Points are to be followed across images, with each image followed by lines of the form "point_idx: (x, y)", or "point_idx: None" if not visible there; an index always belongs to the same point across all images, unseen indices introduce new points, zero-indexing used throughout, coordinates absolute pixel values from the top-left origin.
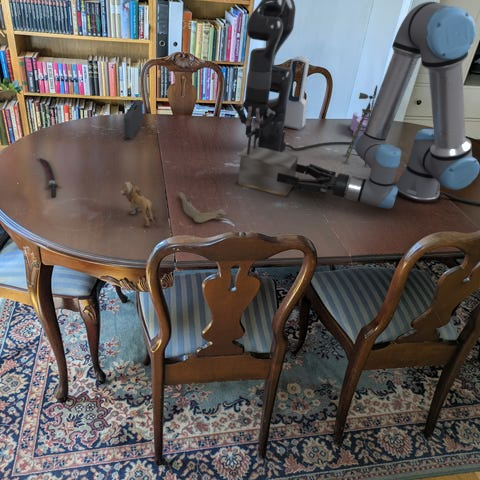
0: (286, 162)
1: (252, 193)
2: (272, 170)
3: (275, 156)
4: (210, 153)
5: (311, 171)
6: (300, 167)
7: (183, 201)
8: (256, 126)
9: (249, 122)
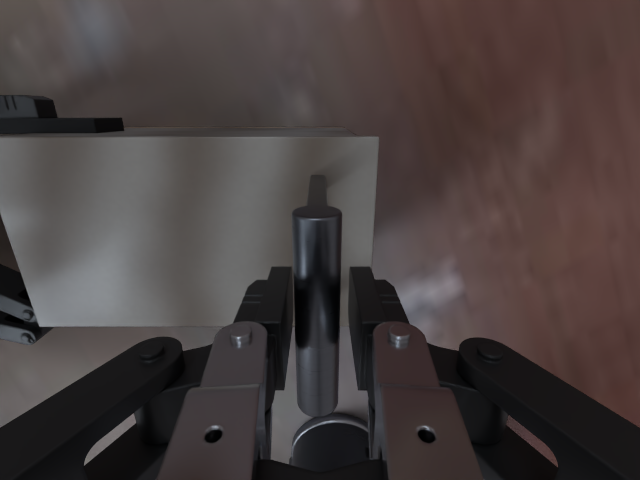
0: (34, 190)
1: (248, 69)
2: (133, 133)
3: (145, 246)
4: (542, 341)
5: (3, 284)
6: None
7: None
8: (263, 338)
9: (379, 361)
